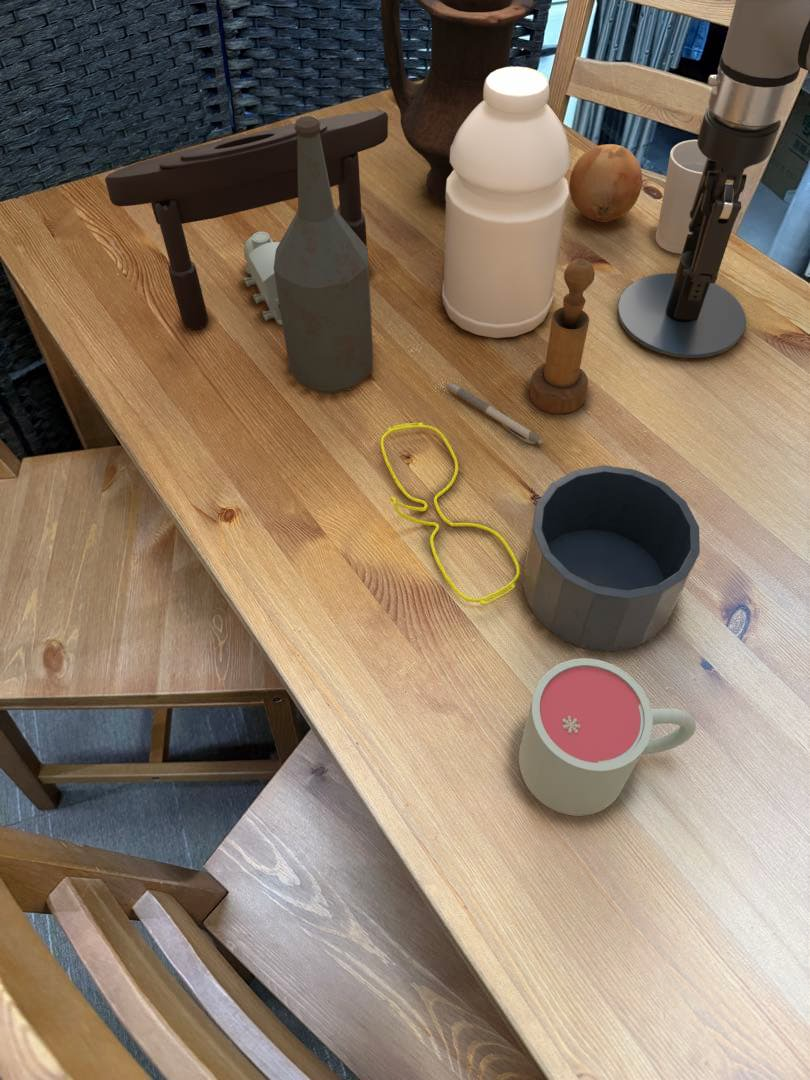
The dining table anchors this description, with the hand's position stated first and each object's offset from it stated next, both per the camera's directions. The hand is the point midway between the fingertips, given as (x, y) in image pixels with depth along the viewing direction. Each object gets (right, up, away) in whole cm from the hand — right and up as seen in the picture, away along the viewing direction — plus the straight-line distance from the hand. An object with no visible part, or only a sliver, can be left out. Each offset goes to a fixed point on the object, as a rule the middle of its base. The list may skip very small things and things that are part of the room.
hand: (685, 299), depth 105 cm
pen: (-25, -16, -7) cm, 30 cm away
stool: (-51, +3, +6) cm, 52 cm away
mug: (-18, -49, -31) cm, 60 cm away
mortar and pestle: (-17, -13, -5) cm, 22 cm away
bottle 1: (-43, -9, -2) cm, 44 cm away
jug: (-27, +23, +21) cm, 41 cm away
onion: (-7, +16, +16) cm, 24 cm away
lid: (0, -1, +2) cm, 2 cm away
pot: (-16, -34, -21) cm, 43 cm away
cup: (+3, +12, +12) cm, 17 cm away
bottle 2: (-23, +1, +5) cm, 23 cm away
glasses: (-31, -27, -15) cm, 44 cm away
